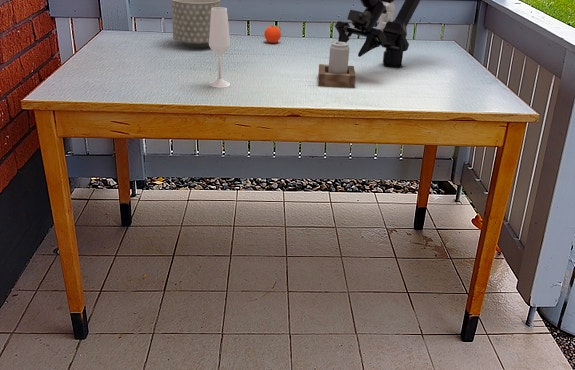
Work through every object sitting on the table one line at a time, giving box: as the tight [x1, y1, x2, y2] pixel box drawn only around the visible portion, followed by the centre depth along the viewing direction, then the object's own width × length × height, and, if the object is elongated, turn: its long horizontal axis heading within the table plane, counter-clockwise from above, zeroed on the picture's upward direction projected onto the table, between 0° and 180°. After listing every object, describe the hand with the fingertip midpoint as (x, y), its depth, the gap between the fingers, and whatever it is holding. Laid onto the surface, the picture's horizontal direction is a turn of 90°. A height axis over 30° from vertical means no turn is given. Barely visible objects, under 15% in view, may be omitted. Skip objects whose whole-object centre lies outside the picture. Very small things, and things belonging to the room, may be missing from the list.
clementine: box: [264, 25, 282, 44], centre depth 239 cm, size 8×7×7 cm
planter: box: [170, 0, 222, 49], centre depth 227 cm, size 19×19×18 cm
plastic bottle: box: [377, 1, 396, 32], centre depth 243 cm, size 6×7×20 cm
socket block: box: [317, 63, 357, 89], centre depth 193 cm, size 12×12×4 cm
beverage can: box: [328, 41, 350, 74], centre depth 191 cm, size 6×6×12 cm
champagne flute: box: [208, 6, 231, 88], centre depth 181 cm, size 7×7×24 cm
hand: (347, 53), depth 194 cm, fingers open, 9 cm apart
